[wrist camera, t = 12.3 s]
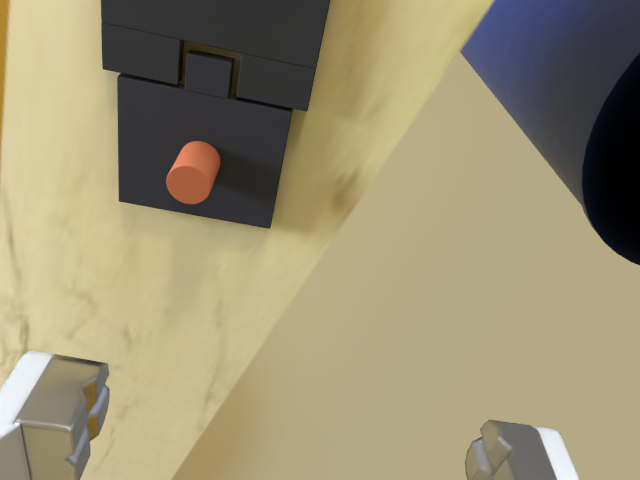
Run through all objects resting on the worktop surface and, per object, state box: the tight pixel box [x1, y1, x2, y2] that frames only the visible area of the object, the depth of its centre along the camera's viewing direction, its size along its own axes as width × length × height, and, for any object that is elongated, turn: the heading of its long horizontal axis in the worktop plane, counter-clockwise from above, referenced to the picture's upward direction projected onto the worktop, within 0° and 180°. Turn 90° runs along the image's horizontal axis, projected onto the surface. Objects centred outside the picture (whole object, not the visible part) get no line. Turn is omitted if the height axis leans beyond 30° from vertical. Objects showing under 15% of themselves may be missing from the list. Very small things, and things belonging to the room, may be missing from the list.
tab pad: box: [117, 49, 292, 228], centre depth 36 cm, size 12×12×5 cm
